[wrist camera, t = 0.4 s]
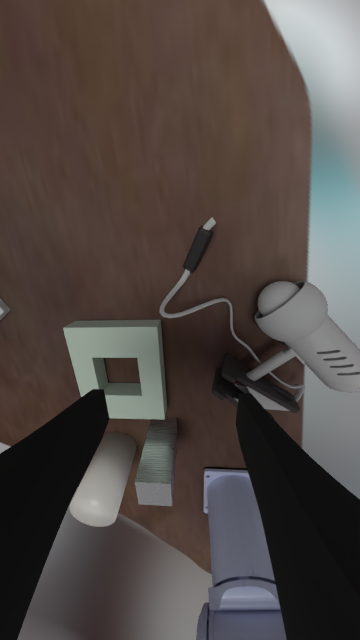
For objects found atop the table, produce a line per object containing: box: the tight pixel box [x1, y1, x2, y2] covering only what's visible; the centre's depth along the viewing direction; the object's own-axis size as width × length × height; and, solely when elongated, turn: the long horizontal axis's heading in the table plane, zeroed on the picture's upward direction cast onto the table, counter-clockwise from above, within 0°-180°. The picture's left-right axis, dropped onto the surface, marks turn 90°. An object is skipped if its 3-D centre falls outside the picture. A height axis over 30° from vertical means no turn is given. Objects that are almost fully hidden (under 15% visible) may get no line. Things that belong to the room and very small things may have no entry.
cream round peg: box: [70, 432, 137, 527], centre depth 22 cm, size 5×5×7 cm
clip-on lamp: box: [160, 218, 360, 419], centre depth 16 cm, size 12×6×18 cm
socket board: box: [63, 320, 167, 420], centre depth 20 cm, size 11×9×2 cm
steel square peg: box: [135, 417, 178, 506], centre depth 20 cm, size 3×3×7 cm
